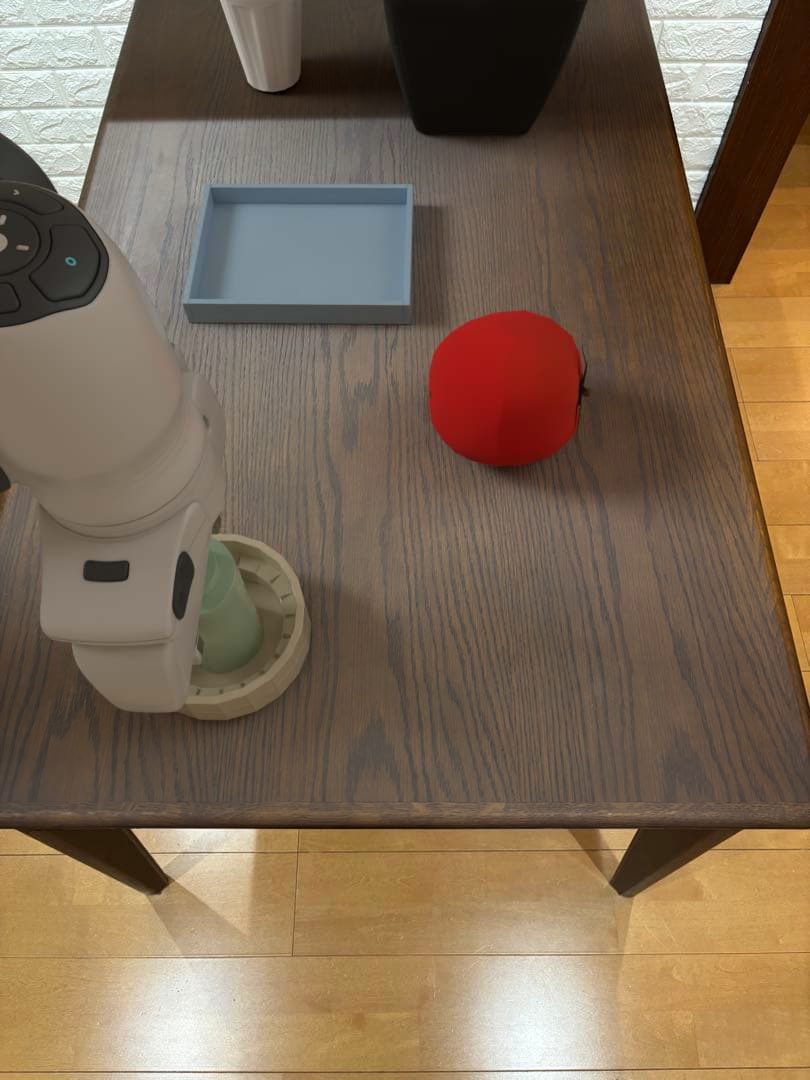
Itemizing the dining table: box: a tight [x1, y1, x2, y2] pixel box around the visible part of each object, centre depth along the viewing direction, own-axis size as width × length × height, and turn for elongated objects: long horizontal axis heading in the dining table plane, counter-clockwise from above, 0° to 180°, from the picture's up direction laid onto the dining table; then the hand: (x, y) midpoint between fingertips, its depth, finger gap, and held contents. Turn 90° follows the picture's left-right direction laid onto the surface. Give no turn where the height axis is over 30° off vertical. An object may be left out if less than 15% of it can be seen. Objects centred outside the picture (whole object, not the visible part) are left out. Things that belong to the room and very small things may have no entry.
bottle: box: [197, 537, 264, 672], centre depth 56 cm, size 6×6×17 cm
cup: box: [219, 0, 303, 93], centre depth 90 cm, size 10×10×13 cm
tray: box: [181, 182, 414, 325], centre depth 81 cm, size 21×16×3 cm
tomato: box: [427, 309, 592, 467], centre depth 68 cm, size 13×13×13 cm
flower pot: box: [382, 0, 589, 135], centre depth 86 cm, size 19×19×17 cm
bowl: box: [176, 533, 312, 721], centre depth 62 cm, size 13×13×5 cm
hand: (200, 587), depth 55 cm, fingers open, 8 cm apart
